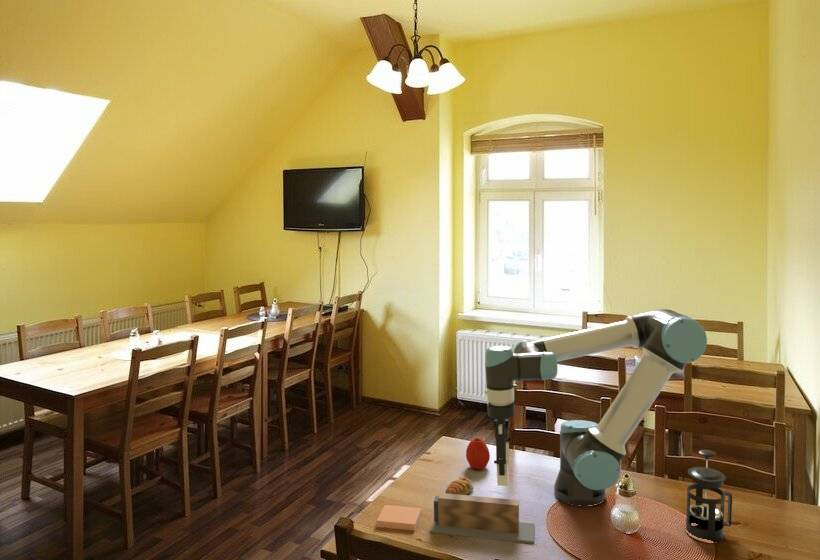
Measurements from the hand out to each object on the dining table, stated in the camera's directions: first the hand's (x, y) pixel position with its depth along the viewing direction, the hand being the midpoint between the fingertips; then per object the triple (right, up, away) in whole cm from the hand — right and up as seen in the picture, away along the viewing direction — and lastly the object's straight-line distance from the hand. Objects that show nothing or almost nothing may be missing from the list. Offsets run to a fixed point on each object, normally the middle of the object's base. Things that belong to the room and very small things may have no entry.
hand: (503, 474), depth 165 cm
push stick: (-8, -13, -4) cm, 16 cm away
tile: (-24, -13, 0) cm, 28 cm away
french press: (+53, -13, -9) cm, 55 cm away
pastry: (-11, -12, +18) cm, 24 cm away
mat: (-7, -14, -4) cm, 16 cm away
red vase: (-3, -10, +35) cm, 36 cm away
